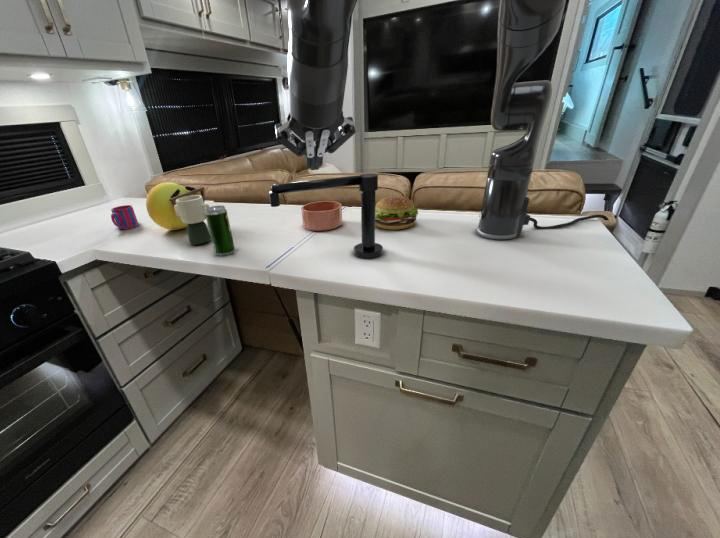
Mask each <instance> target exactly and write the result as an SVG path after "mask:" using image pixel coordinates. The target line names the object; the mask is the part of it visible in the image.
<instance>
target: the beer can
mask: <svg viewBox="0 0 720 538" xmlns="http://www.w3.org/2000/svg"><path fill="white" fill-rule="evenodd" d="M205 208H206V207H205ZM227 210H228V209H226V206H225V205H220V204H219V205H211V206H209V207H208V208H206V209H205V211H206V212H205V215H206V219H205V220H206V224H207V228H208V230H209V233H210V236H211V239H210V240H211V243H212V246H213V250H214V253H215V254H216V256H219V257H224V256H229V255H232V254H234V253H235V249H236V246H235V243H234V238H233V233H232V228H231V225H230V220H229V219H230V218H229V215H228V211H227Z"/></svg>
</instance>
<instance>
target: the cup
mask: <svg viewBox="0 0 720 538" xmlns="http://www.w3.org/2000/svg"><path fill="white" fill-rule="evenodd" d="M110 211H111V214H110V218H111V222H112V223H113V225H114V226H115V227H117V229H119V230H128V229H129V230H130V229H133V228H136V227H138V226H139V225H140V223H139V221H138V219H137V215H136V213H135V210H134V207H133V205H131V204H125V205H119V206H115V207H112V208H111V209H110Z"/></svg>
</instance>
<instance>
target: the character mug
mask: <svg viewBox="0 0 720 538" xmlns="http://www.w3.org/2000/svg"><path fill="white" fill-rule="evenodd" d="M176 202H177V205H174V209H175V213H176V215H177V216H181V219H182V222H183V223H186V224H188V225H187V227H186V228H187V229H186V230H187V237H188V242H189V244H192V245H201V244H205V243H207V242H209V241H211V240H212V239H211V235H210V231H209V227H208V224H207V223H206V222H205V220H207V219H206V215H205V212H206V211H205V209H206V208H208V207H210V204H208V203H205V202H203V198H202V196H200V195H191V196H185V197H181V198H178V199H177V200H176ZM178 209H179V210H178Z"/></svg>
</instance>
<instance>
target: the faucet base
mask: <svg viewBox="0 0 720 538" xmlns="http://www.w3.org/2000/svg"><path fill="white" fill-rule="evenodd" d="M375 204H376V191H370V192H363V191H360V209H361V210H360V213H361V214H360V215H361V218H360V219H361V220H360V222H361V228H360V229H361V230H360V231H361V243H357V244H356V245H354V247H353V254H354V256H355V257H357V258H359V259H366V260H369V259H370V260H371V259H376V258H379V257H381V256H382V255H383V253H384V248H383V245H382V244H381V243H377V242H376V225H375Z"/></svg>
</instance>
